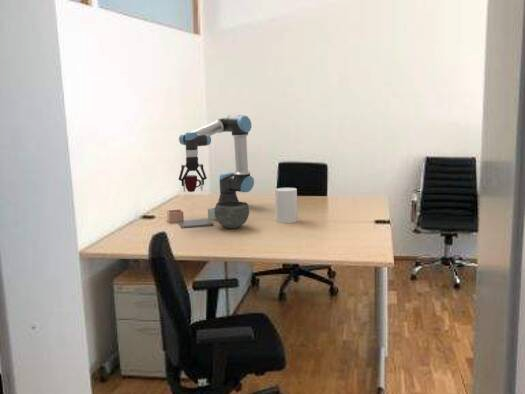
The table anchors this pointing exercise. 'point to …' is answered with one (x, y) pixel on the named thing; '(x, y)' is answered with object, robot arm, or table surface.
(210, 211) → the sage open box
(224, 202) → the bowl
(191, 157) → the robot arm
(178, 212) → the tan open box
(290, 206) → the canister
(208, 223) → the slate board
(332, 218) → the table surface
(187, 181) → the mug
